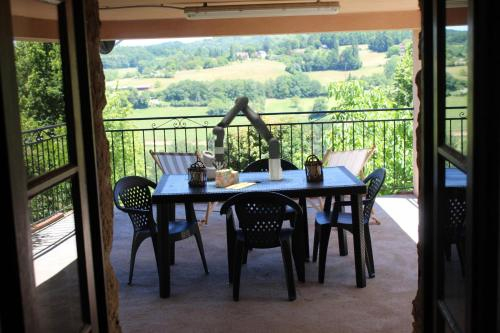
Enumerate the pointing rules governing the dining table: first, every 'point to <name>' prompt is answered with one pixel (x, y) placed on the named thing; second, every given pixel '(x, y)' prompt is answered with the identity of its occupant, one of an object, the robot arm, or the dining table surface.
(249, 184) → the oak board
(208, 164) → the juicer
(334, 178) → the dining table surface
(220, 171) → the stack of blocks
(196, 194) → the dining table surface
